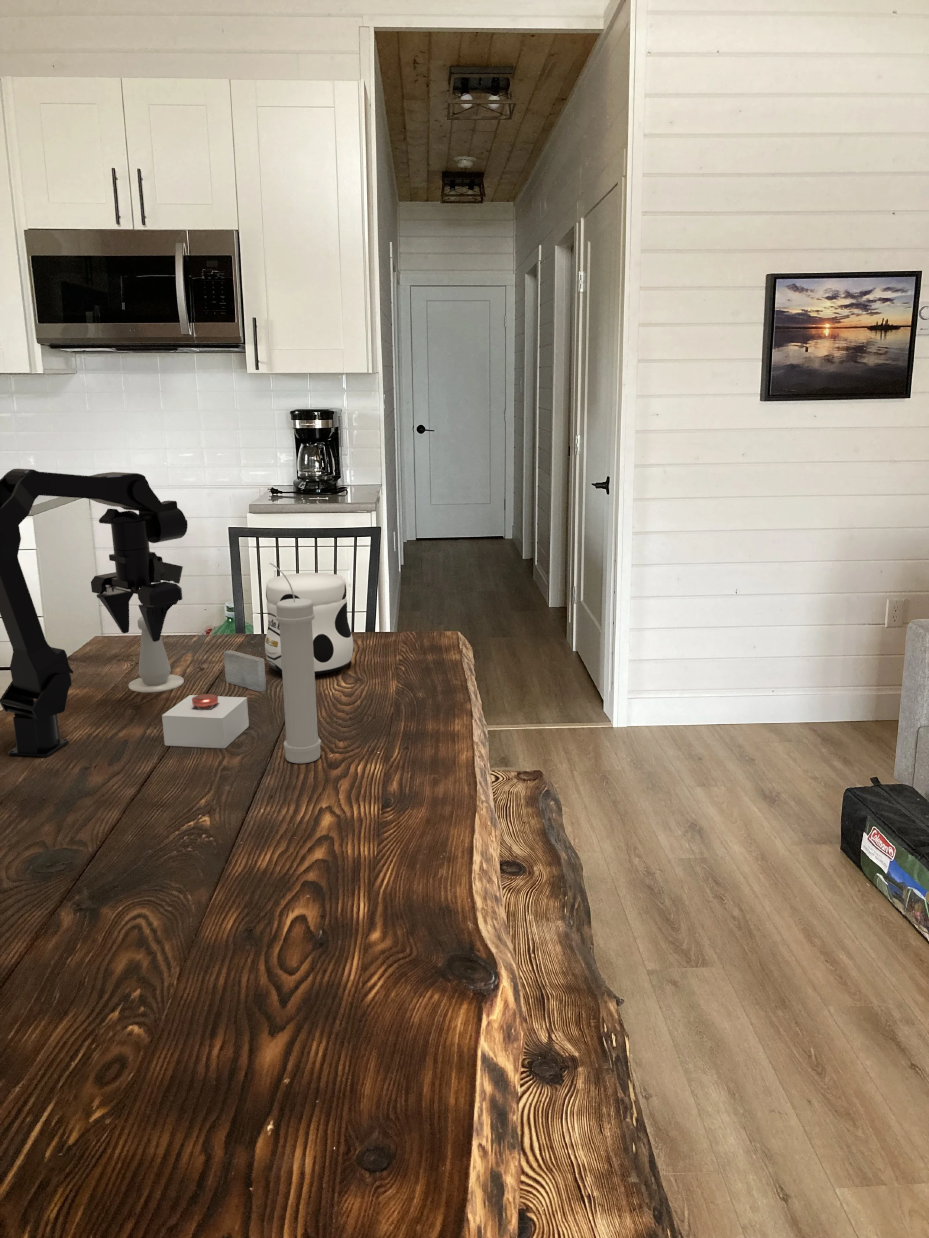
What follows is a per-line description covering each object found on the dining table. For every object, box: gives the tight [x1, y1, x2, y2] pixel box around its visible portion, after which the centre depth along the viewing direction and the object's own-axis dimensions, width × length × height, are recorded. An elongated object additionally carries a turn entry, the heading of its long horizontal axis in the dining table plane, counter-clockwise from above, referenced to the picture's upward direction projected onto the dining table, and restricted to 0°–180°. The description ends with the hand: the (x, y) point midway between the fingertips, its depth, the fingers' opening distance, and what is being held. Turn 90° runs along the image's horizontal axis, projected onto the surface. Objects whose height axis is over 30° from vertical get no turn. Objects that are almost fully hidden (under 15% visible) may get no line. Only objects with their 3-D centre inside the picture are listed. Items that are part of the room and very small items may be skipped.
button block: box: [161, 694, 250, 749], centre depth 152 cm, size 10×10×5 cm
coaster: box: [128, 673, 185, 693], centre depth 180 cm, size 10×10×1 cm
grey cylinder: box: [269, 562, 322, 764], centre depth 140 cm, size 6×6×30 cm
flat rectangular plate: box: [223, 649, 267, 692], centre depth 177 cm, size 2×10×6 cm, turn 51°
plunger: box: [192, 693, 218, 710], centre depth 152 cm, size 4×4×5 cm
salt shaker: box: [137, 615, 171, 686], centre depth 178 cm, size 6×6×13 cm
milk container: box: [264, 572, 354, 676], centre depth 187 cm, size 17×17×18 cm
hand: (140, 636), depth 163 cm, fingers open, 9 cm apart
